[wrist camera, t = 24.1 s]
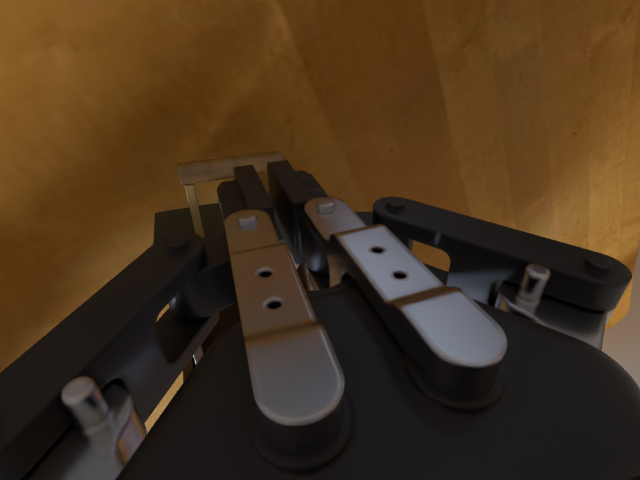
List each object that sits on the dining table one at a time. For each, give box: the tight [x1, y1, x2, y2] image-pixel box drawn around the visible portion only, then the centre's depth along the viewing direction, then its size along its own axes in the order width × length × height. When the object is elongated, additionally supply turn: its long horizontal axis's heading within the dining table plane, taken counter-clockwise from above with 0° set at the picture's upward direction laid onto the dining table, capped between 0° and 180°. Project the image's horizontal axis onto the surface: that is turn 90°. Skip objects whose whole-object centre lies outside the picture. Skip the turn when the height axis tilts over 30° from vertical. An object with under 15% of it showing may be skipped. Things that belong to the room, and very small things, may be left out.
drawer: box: [153, 150, 314, 365], centre depth 33 cm, size 22×13×7 cm, turn 1°
